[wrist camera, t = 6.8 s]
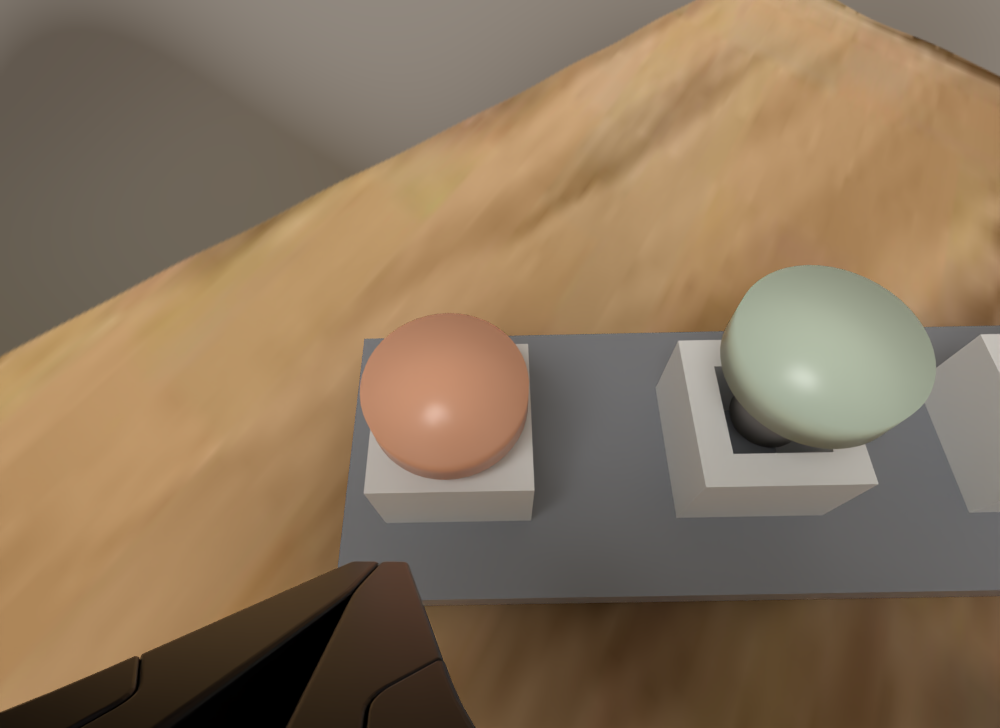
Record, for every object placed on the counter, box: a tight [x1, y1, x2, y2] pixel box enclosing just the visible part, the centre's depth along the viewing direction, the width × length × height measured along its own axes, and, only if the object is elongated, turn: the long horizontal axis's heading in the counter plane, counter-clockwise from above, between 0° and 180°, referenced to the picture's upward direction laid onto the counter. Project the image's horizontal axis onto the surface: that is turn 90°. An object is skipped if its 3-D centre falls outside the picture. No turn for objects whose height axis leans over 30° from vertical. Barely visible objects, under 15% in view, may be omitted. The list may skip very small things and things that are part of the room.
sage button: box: [720, 265, 936, 449], centre depth 17 cm, size 5×5×5 cm
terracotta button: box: [360, 313, 529, 480], centre depth 19 cm, size 5×5×5 cm
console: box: [338, 326, 1000, 606], centre depth 20 cm, size 10×28×5 cm, turn 91°
